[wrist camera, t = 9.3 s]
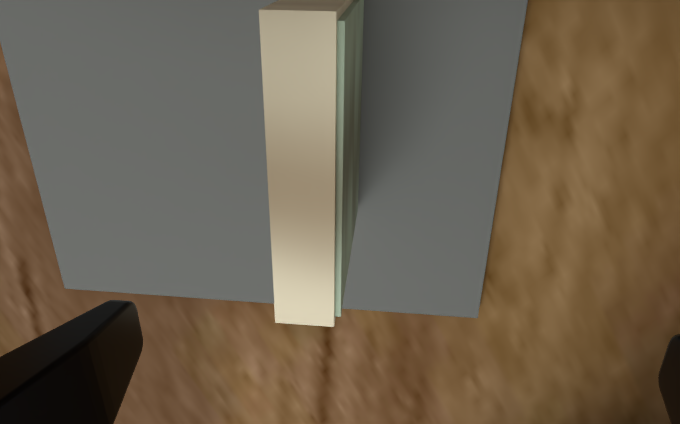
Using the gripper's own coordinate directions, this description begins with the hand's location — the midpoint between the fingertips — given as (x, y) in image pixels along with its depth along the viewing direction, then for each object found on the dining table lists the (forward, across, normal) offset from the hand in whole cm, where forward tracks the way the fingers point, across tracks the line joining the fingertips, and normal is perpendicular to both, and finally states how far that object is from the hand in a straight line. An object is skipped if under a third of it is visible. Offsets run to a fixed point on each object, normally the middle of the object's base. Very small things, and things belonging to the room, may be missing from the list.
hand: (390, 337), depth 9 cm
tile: (+11, +2, -1) cm, 11 cm away
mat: (+12, +5, 0) cm, 13 cm away
